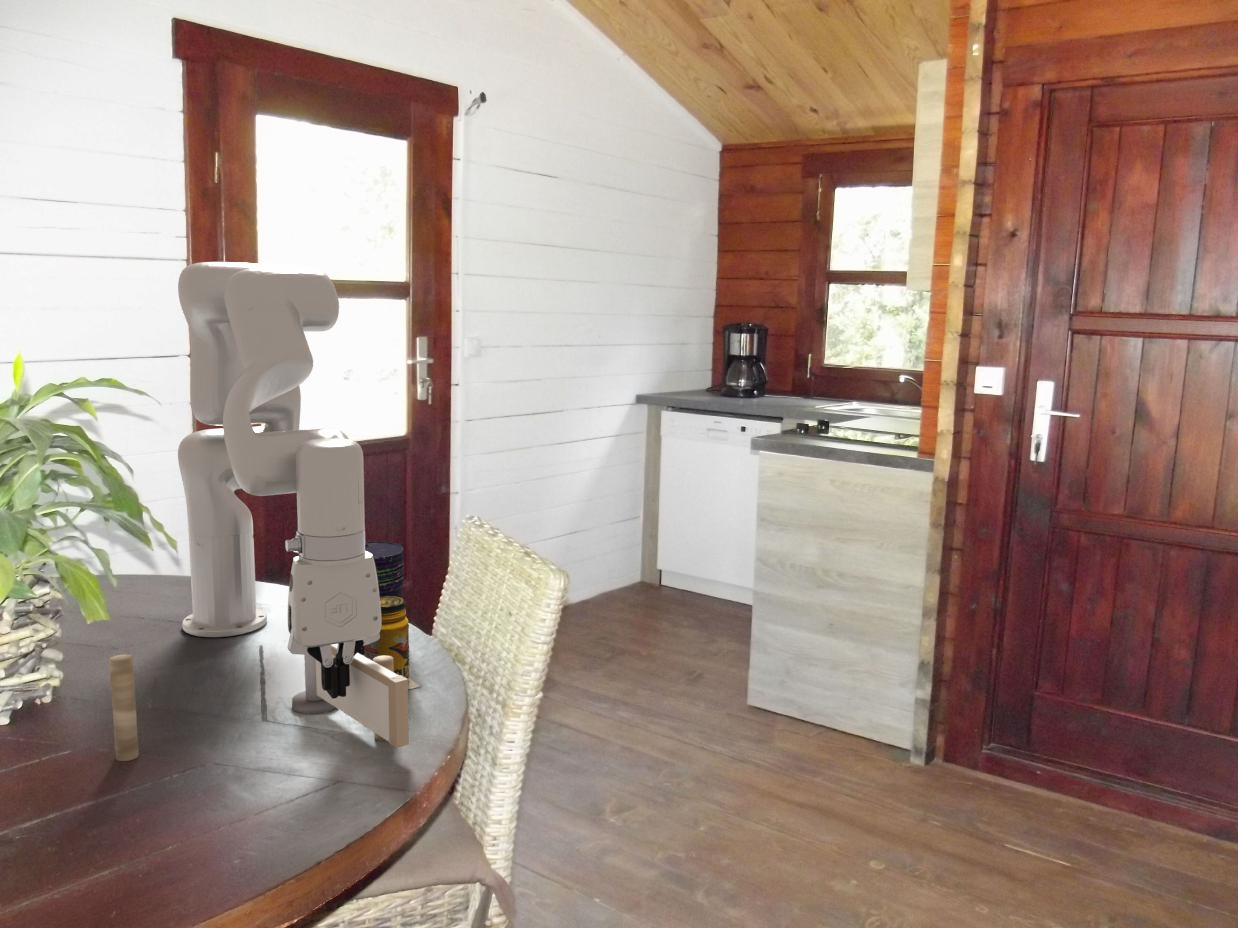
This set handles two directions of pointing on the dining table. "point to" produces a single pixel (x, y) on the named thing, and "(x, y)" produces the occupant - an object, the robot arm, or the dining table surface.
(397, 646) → the condiment
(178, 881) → the dining table surface
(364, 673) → the gate
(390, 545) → the storage jar
